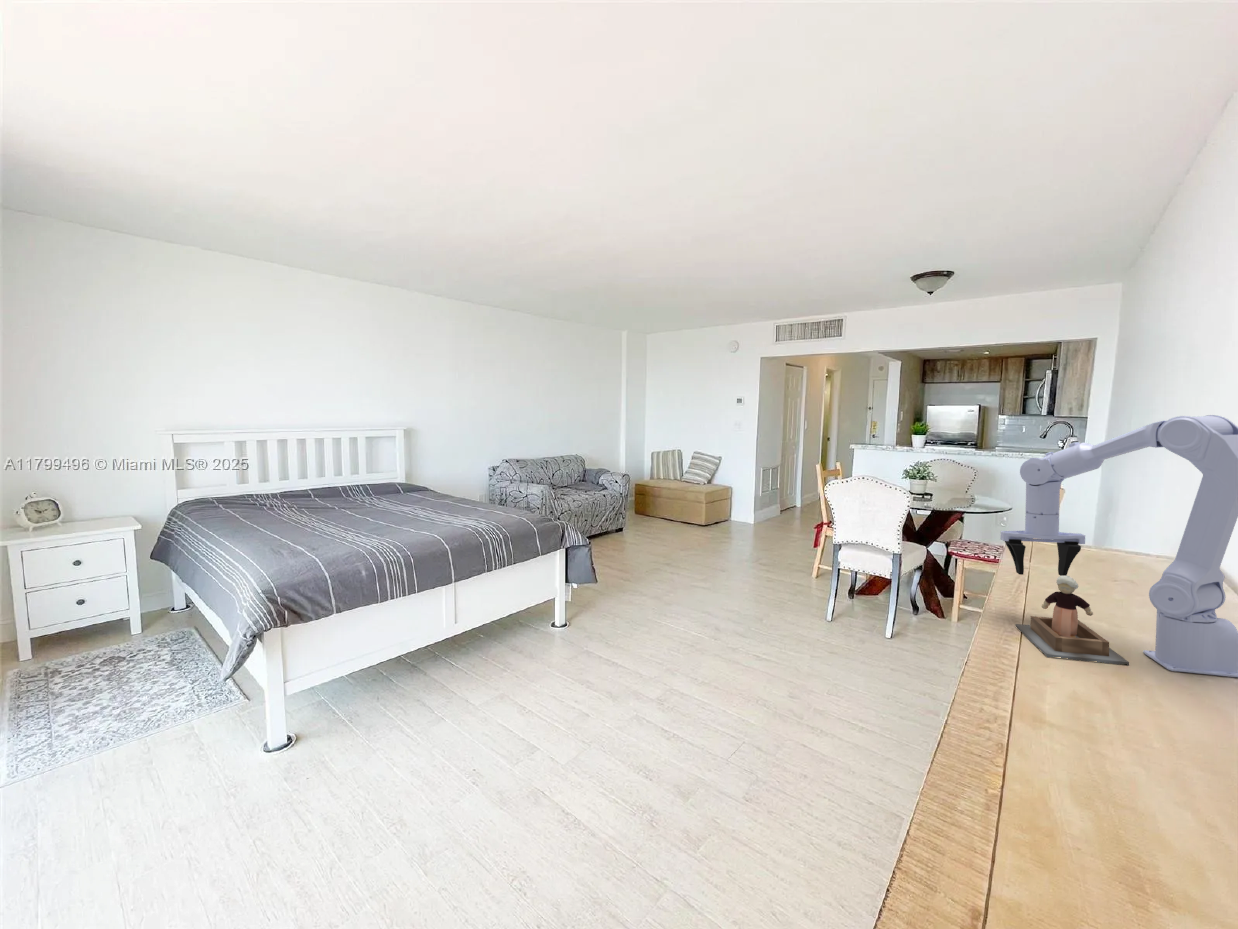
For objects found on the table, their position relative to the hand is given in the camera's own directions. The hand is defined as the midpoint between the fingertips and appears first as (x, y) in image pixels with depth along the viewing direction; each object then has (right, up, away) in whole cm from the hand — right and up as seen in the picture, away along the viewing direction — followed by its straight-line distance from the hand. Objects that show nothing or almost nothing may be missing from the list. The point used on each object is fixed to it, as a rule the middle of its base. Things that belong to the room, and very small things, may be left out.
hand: (1040, 574), depth 114 cm
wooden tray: (-4, -11, -11) cm, 17 cm away
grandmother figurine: (-3, -11, -10) cm, 15 cm away
